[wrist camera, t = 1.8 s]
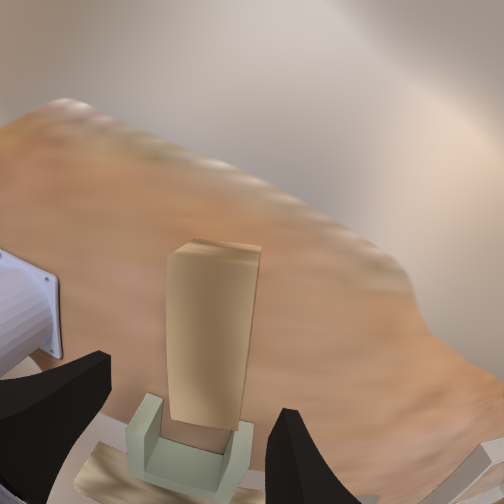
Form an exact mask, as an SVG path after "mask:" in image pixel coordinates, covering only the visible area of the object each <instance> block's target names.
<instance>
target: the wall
mask: <svg viewBox="0 0 504 504" xmlns="http://www.w3.org/2000/svg"><path fill="white" fill-rule="evenodd" d="M73 485H74V487H75V489H76V490H77V491H78V492H80V493H82V494H84V495H85V496H87V497H90V498H91V499H93V500H95V501H98V502H100V503H102V504H223V503H218V502H214V501H209V500H205V499H201V498H197V497H193V496H189V495H185V494H182V493H179V492H175V491H172V490H169V489H166V488H163V487H160V486H157V485H154V484H151V483H148V482H146V481H143V480H140V479H138V478H135V477H133V476H130V475H129V466H128V455H127V454H126V453H124V452H121V451H119V450H117V449H115V448H113V447H110V446H108V445H106V444H104V443H102V442H100V441H99V442H98V444H97V445H96V447H95V448H94V450H93V452H92V453H91V455H90V456H89V458H88V459H87V461H86V462H85V464H84V466H83V467H82V469H81V470H80V472H79V473H78V475H77V477H76V478H75V480H74V482H73ZM229 504H265V491H260V490H253V489H246V488H241V487H238V488H237V490H236V492H235V494H234V495H233V497H232V499H231V500H230V502H229Z"/></svg>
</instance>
